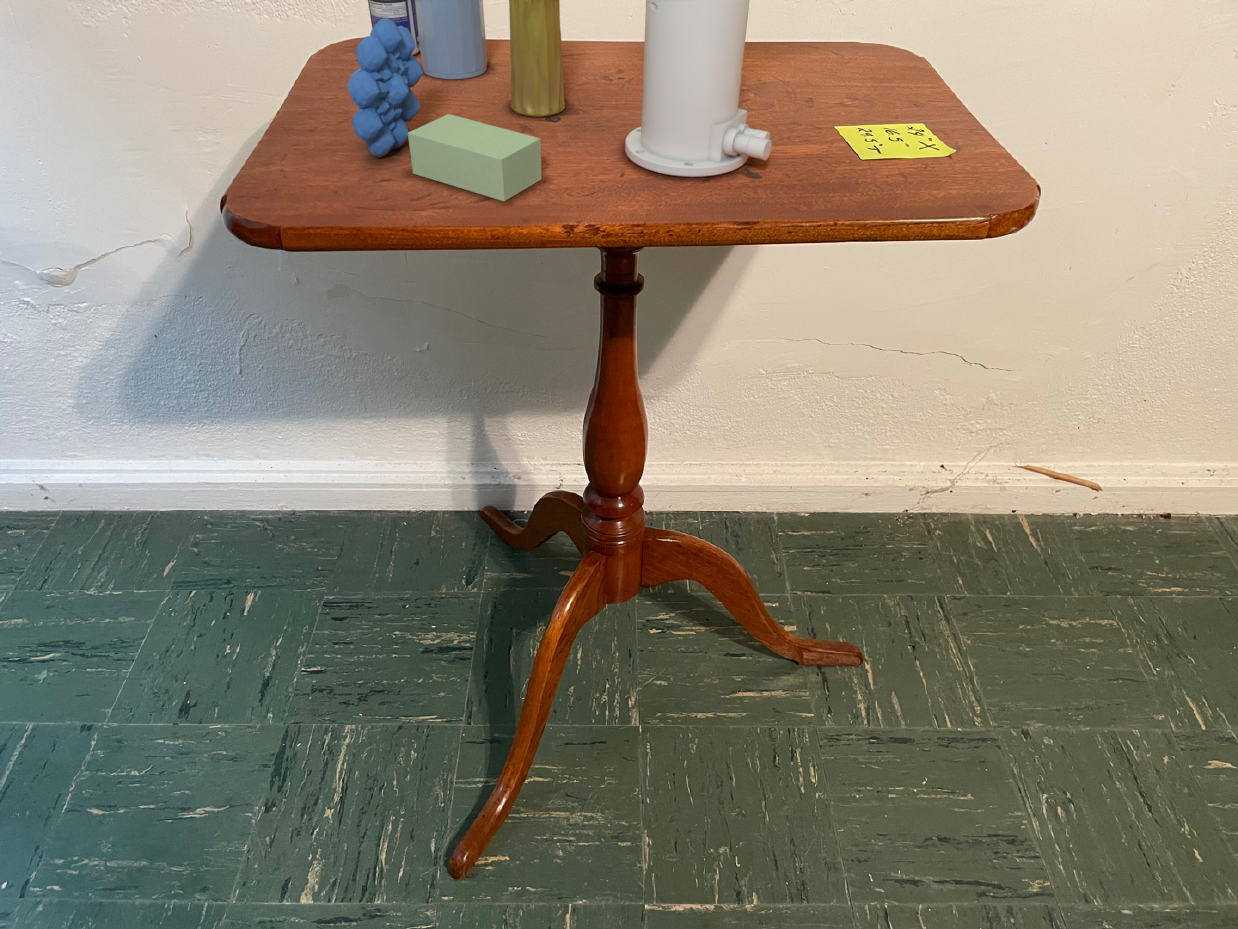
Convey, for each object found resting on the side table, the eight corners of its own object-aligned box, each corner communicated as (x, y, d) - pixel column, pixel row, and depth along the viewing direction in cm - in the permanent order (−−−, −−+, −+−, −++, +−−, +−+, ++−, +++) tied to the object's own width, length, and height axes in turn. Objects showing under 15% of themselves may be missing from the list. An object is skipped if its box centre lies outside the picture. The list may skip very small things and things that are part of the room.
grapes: (386, 122, 99) (368, 1, 91) (443, 131, 97) (430, 8, 90) (326, 163, 90) (301, 33, 83) (388, 173, 89) (368, 42, 81)
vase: (529, 121, 100) (523, -24, 91) (500, 104, 104) (492, -37, 95) (575, 110, 103) (574, -32, 94) (546, 94, 107) (542, -44, 97)
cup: (499, 66, 114) (495, -14, 108) (459, 83, 109) (452, 0, 103) (450, 54, 117) (443, -24, 111) (409, 71, 112) (399, -11, 106)
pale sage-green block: (541, 179, 89) (540, 138, 86) (504, 201, 85) (501, 159, 82) (452, 153, 93) (448, 113, 90) (412, 173, 89) (407, 132, 87)
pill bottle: (393, 42, 120) (382, -44, 114) (430, 49, 118) (421, -38, 112) (366, 54, 116) (353, -34, 110) (403, 61, 114) (392, -28, 108)
